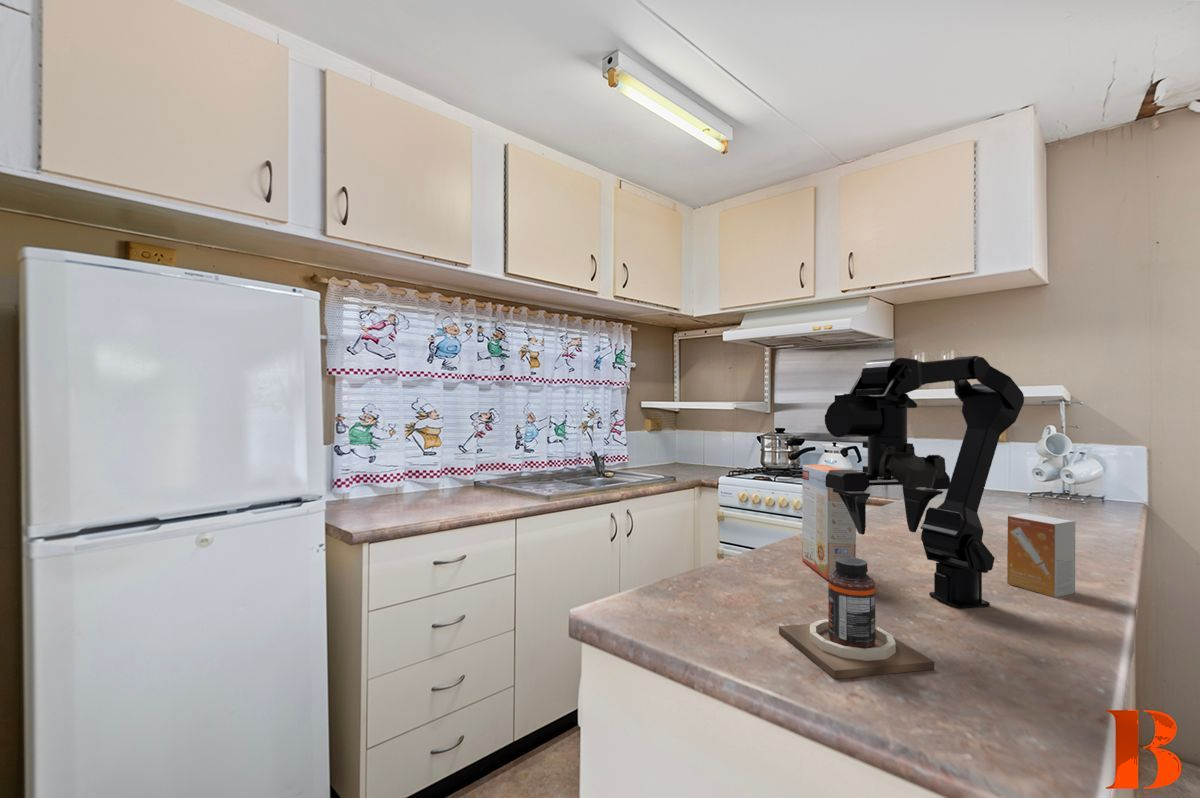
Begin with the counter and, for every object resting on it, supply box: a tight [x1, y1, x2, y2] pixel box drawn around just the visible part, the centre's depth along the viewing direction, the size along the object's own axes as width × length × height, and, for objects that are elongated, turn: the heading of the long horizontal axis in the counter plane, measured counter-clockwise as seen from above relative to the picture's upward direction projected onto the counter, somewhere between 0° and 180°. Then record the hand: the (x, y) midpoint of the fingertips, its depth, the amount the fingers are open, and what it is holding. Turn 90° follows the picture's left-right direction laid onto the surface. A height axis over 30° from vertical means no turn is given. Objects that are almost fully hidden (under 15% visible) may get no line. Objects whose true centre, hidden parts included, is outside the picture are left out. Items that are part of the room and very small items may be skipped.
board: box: [778, 623, 935, 680], centre depth 77 cm, size 14×14×1 cm
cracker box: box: [801, 464, 857, 581], centre depth 114 cm, size 14×6×21 cm, turn 179°
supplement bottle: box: [827, 557, 876, 649], centre depth 78 cm, size 6×6×11 cm
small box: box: [1006, 512, 1076, 598], centre depth 103 cm, size 8×6×13 cm
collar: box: [809, 618, 896, 661], centre depth 77 cm, size 11×11×1 cm
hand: (887, 533), depth 91 cm, fingers open, 9 cm apart
